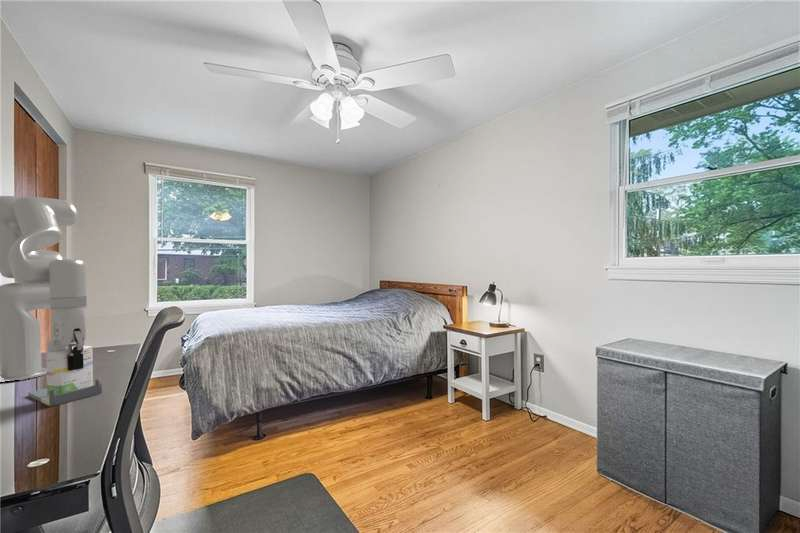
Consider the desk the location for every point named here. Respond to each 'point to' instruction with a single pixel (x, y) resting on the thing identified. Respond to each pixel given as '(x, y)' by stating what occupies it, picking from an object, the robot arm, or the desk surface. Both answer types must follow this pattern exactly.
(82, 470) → the desk surface
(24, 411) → the desk surface
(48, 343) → the ink box
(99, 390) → the tray
